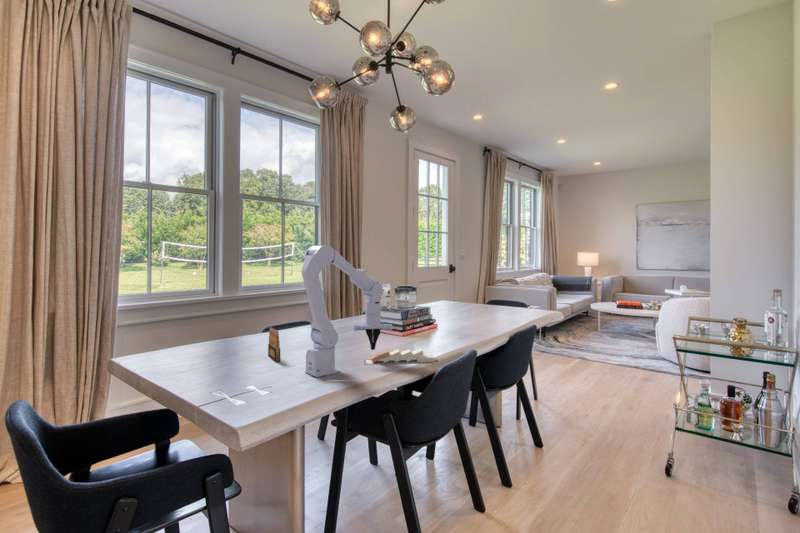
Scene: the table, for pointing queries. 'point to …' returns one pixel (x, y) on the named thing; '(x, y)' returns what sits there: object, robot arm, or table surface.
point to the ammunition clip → (274, 345)
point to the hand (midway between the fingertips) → (372, 349)
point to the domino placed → (379, 356)
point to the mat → (389, 362)
